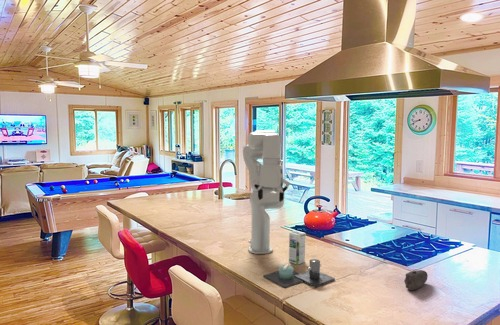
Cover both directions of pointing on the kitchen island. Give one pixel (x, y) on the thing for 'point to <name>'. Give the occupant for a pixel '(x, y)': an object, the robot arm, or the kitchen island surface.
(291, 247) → the syrup box
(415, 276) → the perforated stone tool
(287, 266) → the cap
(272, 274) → the pad
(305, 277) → the dark grey square-based fixture
